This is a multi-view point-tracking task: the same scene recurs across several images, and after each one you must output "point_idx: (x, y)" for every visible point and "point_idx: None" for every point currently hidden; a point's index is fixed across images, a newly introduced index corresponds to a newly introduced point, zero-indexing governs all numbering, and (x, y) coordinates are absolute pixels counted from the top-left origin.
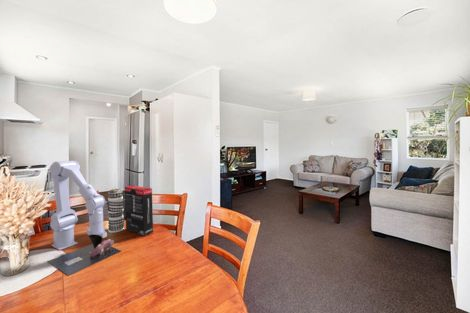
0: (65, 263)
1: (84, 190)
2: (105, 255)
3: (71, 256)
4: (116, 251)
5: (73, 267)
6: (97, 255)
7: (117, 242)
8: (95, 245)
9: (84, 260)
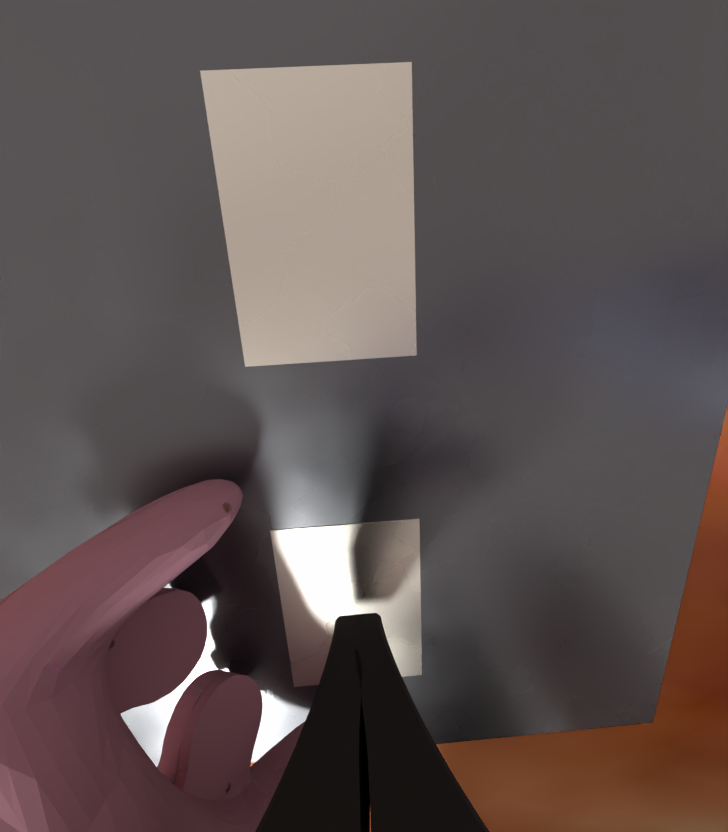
0: (351, 67)
1: None
2: None
3: (558, 278)
4: None
5: (10, 103)
6: None
7: None
8: (317, 703)
9: (169, 362)
